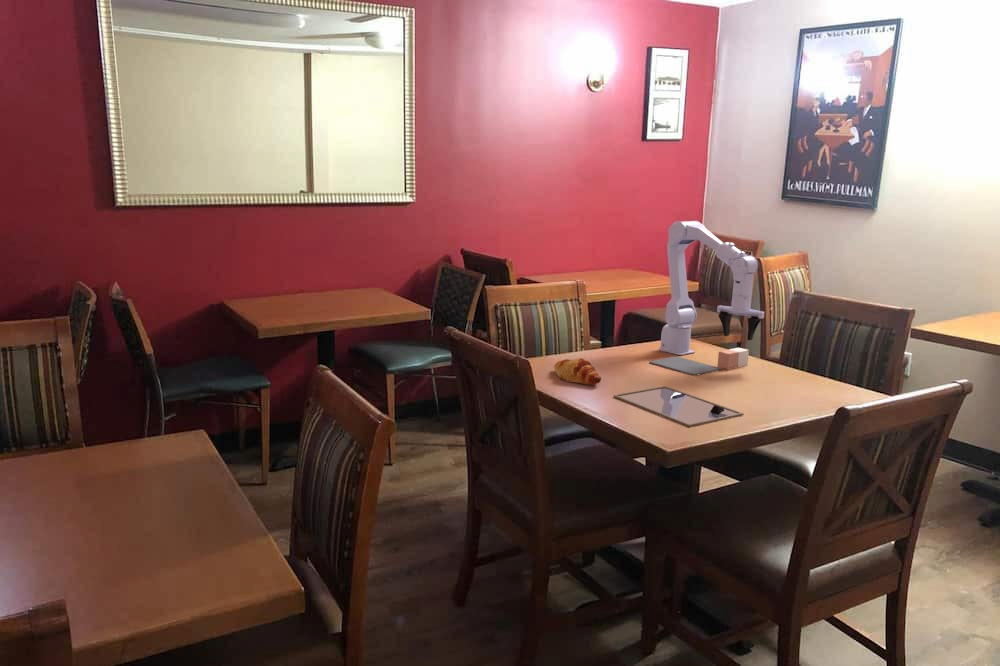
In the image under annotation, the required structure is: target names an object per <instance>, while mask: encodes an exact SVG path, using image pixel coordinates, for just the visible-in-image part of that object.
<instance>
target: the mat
mask: <svg viewBox="0 0 1000 666" xmlns="http://www.w3.org/2000/svg"><path fill="white" fill-rule="evenodd" d="M648 363H649V364H651V365H655V366H657V365H658V367H660V368H664V367H665V369H668V368H669V369H668V370H672V371H675V370H676V371H675V372H679V371H680V373H682V372H683V374H686V373H687V375H689V374H691V375H690V376H693V375H696V376H699V375H698V374H700V375H702V374H703V373H704V374H708V373H707V372H709V373H713V372H717V371H716V370H718V371H721V370H722V368H720V367H717V366H715V365H710V364H708V363H704V362H699V361H696V360H691V359H688V358H685V357H684V358H683V357H682V356H681V357H680V356H678V355H677V356H671V357H667V358H666V357H665V358H662V359H657V360H651V361H648ZM712 371H713V372H712Z"/></svg>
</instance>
